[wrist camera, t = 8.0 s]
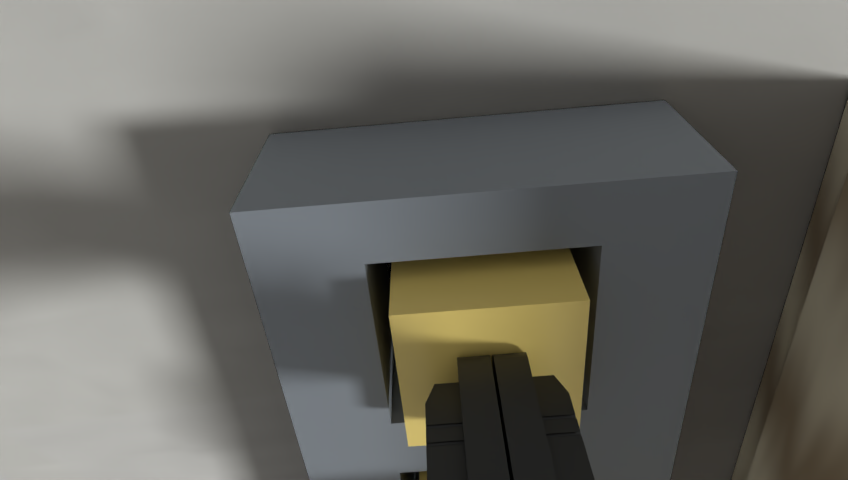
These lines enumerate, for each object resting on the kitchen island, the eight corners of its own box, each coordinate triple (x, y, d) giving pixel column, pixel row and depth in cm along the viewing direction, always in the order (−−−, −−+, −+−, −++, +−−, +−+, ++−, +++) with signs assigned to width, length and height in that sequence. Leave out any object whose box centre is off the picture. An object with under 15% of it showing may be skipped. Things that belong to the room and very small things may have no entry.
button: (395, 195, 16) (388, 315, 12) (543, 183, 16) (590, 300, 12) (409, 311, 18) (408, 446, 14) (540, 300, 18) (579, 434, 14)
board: (269, 134, 15) (229, 212, 12) (664, 100, 15) (737, 170, 12) (377, 587, 27) (373, 691, 24) (600, 574, 27) (626, 677, 23)
